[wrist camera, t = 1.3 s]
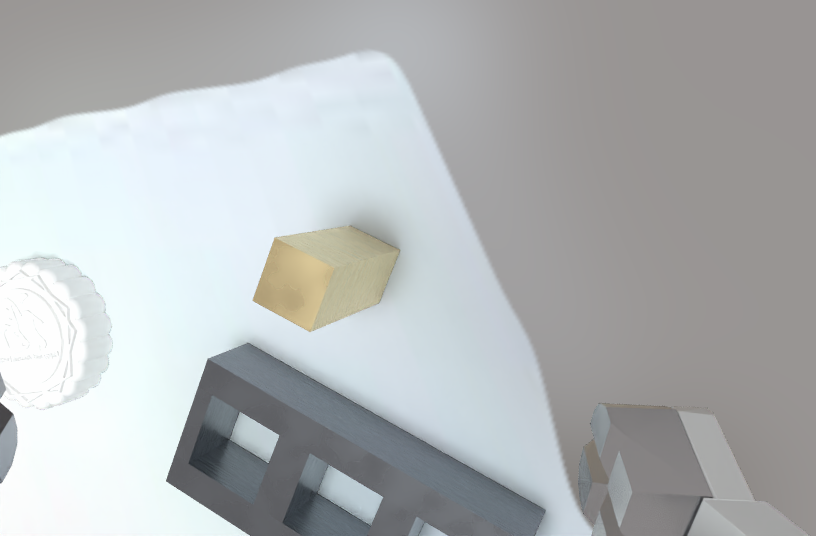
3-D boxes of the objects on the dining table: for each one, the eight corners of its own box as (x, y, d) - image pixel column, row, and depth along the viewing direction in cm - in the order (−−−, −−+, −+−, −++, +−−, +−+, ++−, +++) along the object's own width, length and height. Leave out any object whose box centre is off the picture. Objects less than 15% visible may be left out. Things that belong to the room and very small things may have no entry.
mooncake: (99, 247, 60) (64, 252, 56) (127, 395, 60) (94, 408, 57) (-10, 266, 64) (-49, 271, 61) (17, 403, 65) (-20, 416, 61)
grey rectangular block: (545, 510, 49) (530, 545, 44) (485, 629, 51) (465, 674, 47) (248, 343, 55) (207, 358, 51) (207, 456, 58) (166, 480, 53)
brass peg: (400, 250, 50) (334, 268, 41) (379, 302, 51) (310, 332, 42) (349, 225, 51) (274, 237, 42) (330, 277, 52) (252, 300, 43)
